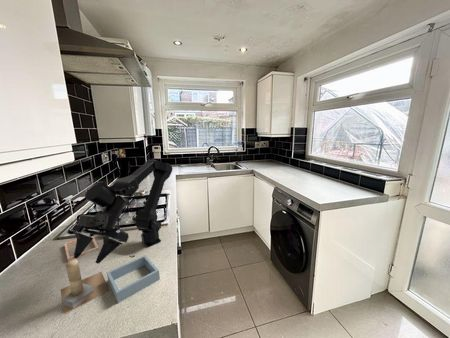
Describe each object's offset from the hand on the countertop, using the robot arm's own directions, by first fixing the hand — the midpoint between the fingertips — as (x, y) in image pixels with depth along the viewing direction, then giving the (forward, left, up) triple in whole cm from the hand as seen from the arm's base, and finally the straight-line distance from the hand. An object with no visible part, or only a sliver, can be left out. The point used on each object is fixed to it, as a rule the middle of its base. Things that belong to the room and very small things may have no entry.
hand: (85, 260), depth 59 cm
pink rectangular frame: (-1, -32, -11) cm, 34 cm away
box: (-11, +6, -11) cm, 17 cm away
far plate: (+2, -1, -11) cm, 11 cm away
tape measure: (-14, -37, -11) cm, 41 cm away
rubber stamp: (+3, +2, -10) cm, 11 cm away
